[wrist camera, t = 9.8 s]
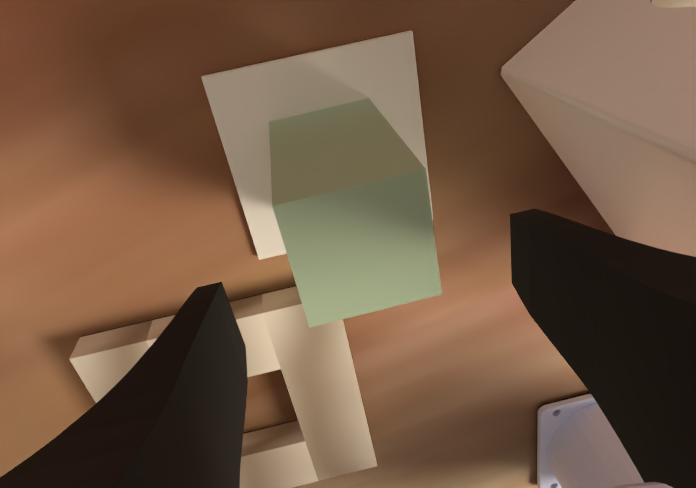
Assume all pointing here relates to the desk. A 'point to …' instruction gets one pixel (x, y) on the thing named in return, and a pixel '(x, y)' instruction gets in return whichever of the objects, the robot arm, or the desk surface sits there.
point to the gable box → (621, 111)
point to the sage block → (352, 212)
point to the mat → (306, 96)
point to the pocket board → (262, 356)
